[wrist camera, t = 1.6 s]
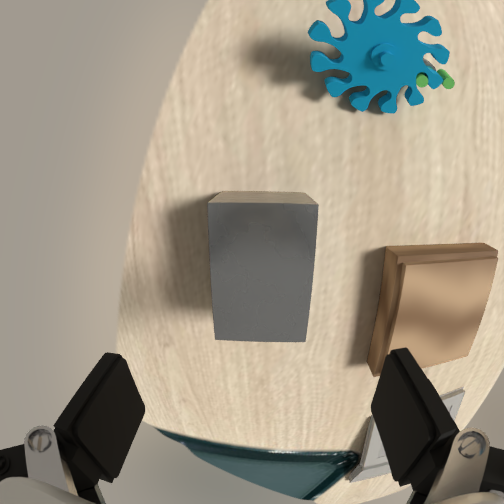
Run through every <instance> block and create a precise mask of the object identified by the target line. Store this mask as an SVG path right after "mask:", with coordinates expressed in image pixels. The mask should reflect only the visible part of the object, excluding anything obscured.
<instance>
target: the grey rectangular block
mask: <svg viewBox="0 0 504 504" xmlns="http://www.w3.org/2000/svg"><path fill="white" fill-rule="evenodd" d="M317 221H318V204H317V203H316V202H315V201H314V200H313V199H312V198H311V197H309V196H308V195H307V194H306V193H301V192H266V191H222V192H221V193H219V194H218V195H217V196H216V197H214V198H213V199H212V200H210V201H209V202H208V232H209V255H210V274H211V291H212V306H213V320H214V333H215V340H232V341H257V342H305V341H306V334H307V326H308V318H309V310H310V301H311V292H312V282H313V272H314V261H315V249H316V236H317Z"/></svg>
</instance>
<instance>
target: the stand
mask: <svg viewBox="0 0 504 504" xmlns="http://www.w3.org/2000/svg"><path fill="white" fill-rule="evenodd" d="M497 254H498V250H496V249H494V248H492V247H490V246H489V245H487V244H485V243H466V244H438V245H410V246H386V250H385V260H384V269H383V277H382V284H381V291H380V298H379V304H378V310H377V315H376V321H375V326H374V331H373V336H372V341H371V345H370V350H369V354H368V359H367V363H368V365H369V367H370V370H371V372H372V375H373V377H376V376H380V375H381V371H382V368H383V364H384V360H385V357H386V355H387V354H390V351H391V350H393V349H399V348H405V347H406V348H408V349H409V351H410V352H411V354H412V355H413V357H414V358H415V360H416V361H417V363H418V364H419V366H420V368H426V367H430V366H434V365H438V364H441V363H445V362H449V361H452V360H456V359H459V358H462V357H466V356H468V354H469V351H470V349H471V346H472V344H473V341H474V339H475V336H476V334H477V331H478V328H479V325H480V323H481V320H482V317H483V314H484V311H485V307H486V304H487V301H488V297H489V294H490V290H491V287H492V283H493V279H494V275H495V270H496V266H497V261H498V258H497Z"/></svg>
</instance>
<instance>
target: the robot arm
mask: <svg viewBox="0 0 504 504" xmlns="http://www.w3.org/2000/svg"><path fill="white" fill-rule="evenodd" d="M371 412H372V415H373V418H374V421H375V424H376V426H377V429H378V432H379V435H380V438H381V441H382V444H383V447H384V450H385V454H386V457H387V460H388V463H389V466H390V470H391V473H392V476H393V479H394V481H398V482H399V485H400V487H401V486H404V485H407V484H410V483H411V485H412V489H413V492H412V494H411V496H410V498H409V500H408V501H407V503H406V504H504V450H502V449H497V448H494V447H490V442H489V439H488V437H487V435H486V434H485V433H484V432H483V431H482V430H480V429H477V428H467V429H464V430H462V431H459V429H458V427H457V425H456V424H455V422H454V420H453V418H452V417H451V415H450V413H449V411H448V410H447V408H446V406H445V404H444V403H443V401H442V399H441V398H440V396H439V394H438V393H437V391H436V389H435V388H434V386H433V385H432V383H431V382H430V380H429V379H427V377H426V375H425V374H424V372H423V371H422V369H421V368H420V366H419V364H418V363H417V361H416V360H415V358H414V357H413V355H412V354H411V352H410V351H409V349H408V348H406V347H405V348H399V349H393V350H391V351H390V354H387V355H386V357H385V360H384V364H383V368H382V371H381V375H380V378H379V381H378V385H377V388H376V391H375V394H374V397H373V400H372V403H371ZM144 414H145V405H144V403H143V401H142V399H141V396H140V394H139V392H138V389H137V387H136V385H135V382H134V380H133V377H132V375H131V372H130V370H129V367H128V364H127V362H126V360H125V359H124V358H123V357H122V356H121V355H120V354H115V353H105V354H104V355H103V356H102V358H101V359H100V360H99V362H98V363H97V364H96V366H95V367H94V368H93V370H92V371H91V372H90V374H89V375H88V377H87V378H86V379H85V381H84V382H83V383H82V385H81V386H80V388H79V389H78V391H77V392H76V393H75V395H74V396H73V398H72V399H71V400H70V402H69V403H68V405H67V406H66V408H65V409H64V411H63V412H62V414H61V415H60V417H59V418H58V420H57V421H56V423H55V424H54V427H55V429H54V431H53V430H52V429H51V428H49V427H47V426H37V427H34V428H33V429H31V430H30V431H29V432H28V433H27V435H26V437H25V441H24V444H23V445H18V446H14V447H11V448H6V449H3V450H0V504H106V503H105V501H104V498H103V496H102V493H101V491H100V489H99V486H98V481H99V479H101V480H104V481H107V482H110V483H112V482H113V480H114V478H117V477H118V476H119V473H120V471H121V468H122V466H123V463H124V461H125V459H126V456H127V454H128V451H129V449H130V447H131V444H132V442H133V440H134V437H135V435H136V432H137V430H138V428H139V425H140V423H141V421H142V418H143V416H144Z"/></svg>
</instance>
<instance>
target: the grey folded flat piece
mask: <svg viewBox="0 0 504 504" xmlns="http://www.w3.org/2000/svg"><path fill="white" fill-rule="evenodd" d="M464 393H465V391H464V390H463V387H461V388H459V389H456V390H454V391H451V392H448V393H446V394H443V395H440V398H441V399H442V401H443V403H444V404H445V406H446V408H447V410H448V411H449V413H450V415H451V417H452V418H453V420H455V418H456V415H457V413H458V410H459V407H460V405H461V402H462V399H463V396H464ZM388 473H391V470H390V466H389V463H388V460H387V457H386V454H385V450H384V447H383V444H382V441H381V438H380V435H379V432H378V429H377V426H376V424H375V421H374V418H373V415H372V416H371V419H370V422H369V425H368V430H367V435H366V439H365V444H364V448H363V452H362V456H361V460H360V464H359V465H358V466H357V467H356V468H355V469H354V470H353V471H352V473H351V474H350V475H349V477H348V479H349V478H350V479H349V481H350V483H351V482H356V481H361V480H365V479H369V478H373V477H377V476H381V475H385V474H388Z"/></svg>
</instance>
